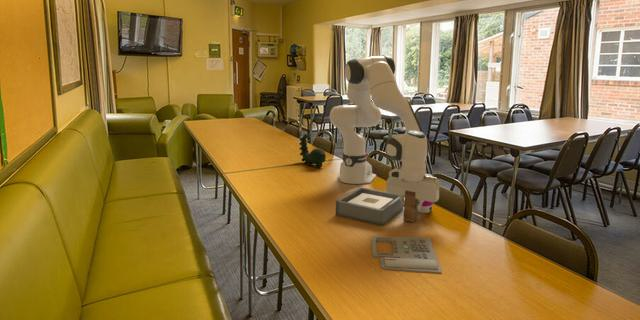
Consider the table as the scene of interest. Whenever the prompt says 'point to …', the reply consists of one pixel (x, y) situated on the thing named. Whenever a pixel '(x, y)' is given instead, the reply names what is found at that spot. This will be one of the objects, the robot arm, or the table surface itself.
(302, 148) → the toy figurine
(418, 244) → the office telephone
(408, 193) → the peg
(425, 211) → the supplement can
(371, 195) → the open box
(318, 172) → the table surface
